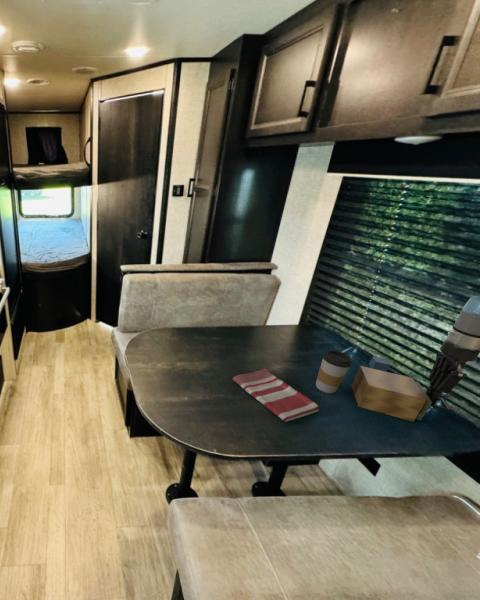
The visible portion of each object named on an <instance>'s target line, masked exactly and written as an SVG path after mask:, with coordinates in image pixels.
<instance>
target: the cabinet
mask: <svg viewBox="0 0 480 600" xmlns="http://www.w3.org/2000/svg"><path fill="white" fill-rule="evenodd" d="M416 382H417V381H415V379H414V377H411V376H407V375H403V374H398V373H393V372H389V371H387V372H385V371H381V370H376V369H372V368H370V367H369V366H368V367H367V366H363V365H360V366H359V369H358V371H357V372H356V375H355V376H354V379H353V381H352V384H351V389H352V392H353V395H354V398H355V401H356V403H357V406H358V407H359V408H362V409H365V410H370V411H373V412H377V413H380V414H385V415H388V416H390V417H391V416H392V417H395V418H399V419H402V420H406V421H409V422H415V420H417V419H416V417H417V415H418V414H419V412H420V410H421V409H422V407H423V405H424V404H425V402H426V400H427V399H426V398H425V396H424V395H423V393H422V392H421V390H420V388H419V387H418V385H417V384H416Z"/></svg>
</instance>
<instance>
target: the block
mask: <svg viewBox="0 0 480 600" xmlns="http://www.w3.org/2000/svg"><path fill="white" fill-rule="evenodd" d="M368 367H369V368H372V369H376V370H381V371H385V372H389V369H390V367H391V363H390V361H389V360H388V358H383V357H380V356H373V355H372V357H371V359H370V361H369V363H368Z"/></svg>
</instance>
